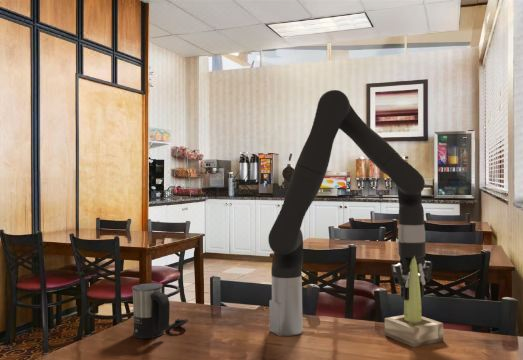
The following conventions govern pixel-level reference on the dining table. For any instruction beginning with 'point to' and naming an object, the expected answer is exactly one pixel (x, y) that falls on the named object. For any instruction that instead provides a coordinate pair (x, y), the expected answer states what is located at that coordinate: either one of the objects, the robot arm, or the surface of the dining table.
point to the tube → (413, 296)
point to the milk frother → (151, 311)
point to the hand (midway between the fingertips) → (412, 298)
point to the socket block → (414, 331)
